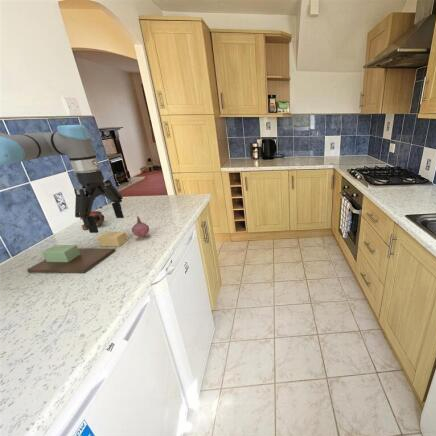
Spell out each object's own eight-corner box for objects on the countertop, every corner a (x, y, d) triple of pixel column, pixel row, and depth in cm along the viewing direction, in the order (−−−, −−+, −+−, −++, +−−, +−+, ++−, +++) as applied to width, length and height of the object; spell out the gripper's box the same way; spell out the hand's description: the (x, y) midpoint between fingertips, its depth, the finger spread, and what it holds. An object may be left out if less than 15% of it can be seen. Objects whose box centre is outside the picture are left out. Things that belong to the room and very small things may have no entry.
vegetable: (153, 236, 103) (147, 215, 99) (138, 242, 98) (131, 220, 94) (147, 233, 106) (141, 211, 102) (132, 238, 102) (125, 216, 98)
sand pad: (100, 246, 96) (96, 237, 95) (109, 240, 101) (106, 231, 99) (119, 246, 96) (116, 237, 94) (127, 240, 100) (125, 231, 99)
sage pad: (46, 262, 84) (41, 252, 83) (60, 254, 89) (55, 244, 87) (68, 262, 84) (63, 252, 82) (80, 254, 89) (76, 245, 87)
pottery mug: (75, 231, 111) (73, 213, 112) (96, 231, 120) (94, 215, 121) (96, 226, 108) (94, 208, 109) (116, 226, 118) (113, 209, 118)
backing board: (28, 272, 81) (26, 269, 80) (66, 250, 94) (65, 248, 93) (85, 273, 80) (83, 270, 79) (115, 251, 93) (114, 248, 92)
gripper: (66, 179, 75) (91, 239, 83) (122, 163, 98) (137, 212, 106) (43, 180, 75) (71, 239, 84) (104, 164, 98) (121, 212, 107)
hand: (108, 224), depth 95 cm, fingers open, 13 cm apart
